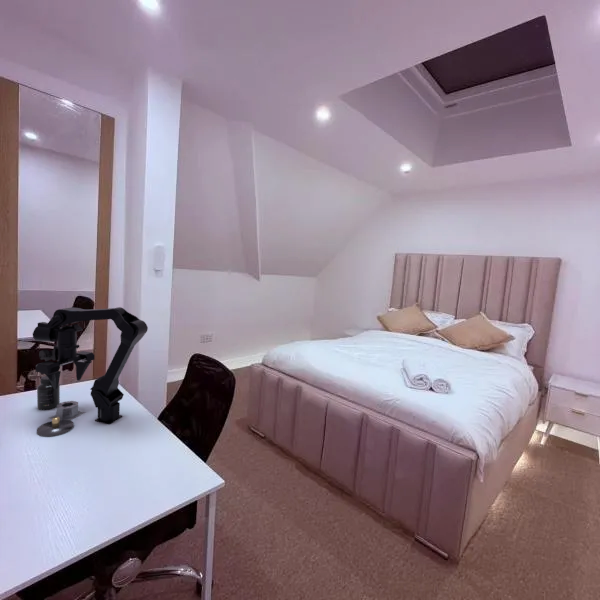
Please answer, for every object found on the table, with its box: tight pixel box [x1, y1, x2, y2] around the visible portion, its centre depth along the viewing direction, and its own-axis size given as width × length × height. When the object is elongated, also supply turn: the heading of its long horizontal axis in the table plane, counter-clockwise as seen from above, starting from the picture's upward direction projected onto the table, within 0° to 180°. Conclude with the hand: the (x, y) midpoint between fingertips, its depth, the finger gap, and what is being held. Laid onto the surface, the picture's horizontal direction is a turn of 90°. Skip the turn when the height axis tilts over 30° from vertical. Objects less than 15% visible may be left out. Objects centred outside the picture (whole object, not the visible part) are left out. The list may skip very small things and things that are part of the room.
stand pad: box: [48, 410, 87, 421], centre depth 120 cm, size 8×8×1 cm
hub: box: [36, 417, 75, 438], centre depth 110 cm, size 10×10×4 cm
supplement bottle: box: [36, 375, 61, 411], centre depth 124 cm, size 7×7×12 cm
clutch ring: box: [55, 400, 79, 420], centre depth 119 cm, size 6×6×4 cm
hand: (67, 384), depth 119 cm, fingers open, 9 cm apart
